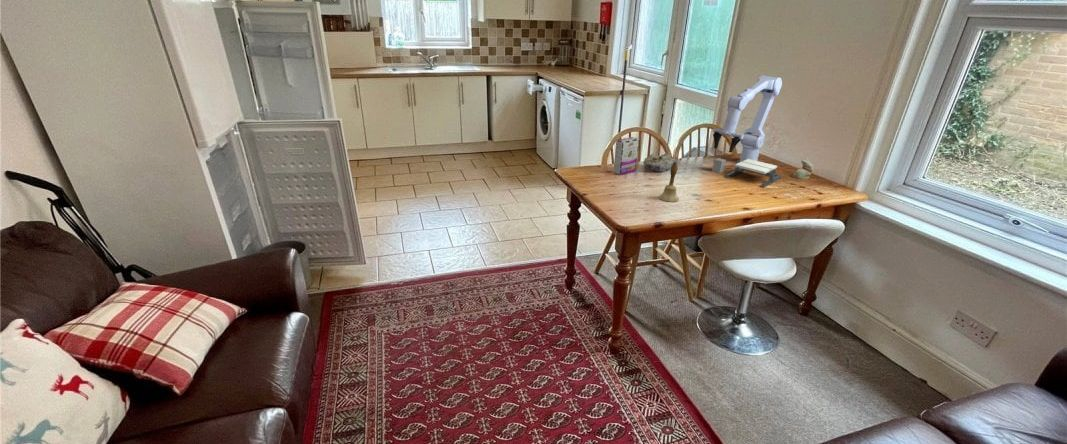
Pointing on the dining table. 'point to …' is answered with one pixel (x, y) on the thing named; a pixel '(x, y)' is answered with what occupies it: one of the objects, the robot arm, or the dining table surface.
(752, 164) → the trapdoor
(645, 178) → the dining table surface
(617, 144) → the candy bar box
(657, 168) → the geode
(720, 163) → the gray rectangular block
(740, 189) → the dining table surface
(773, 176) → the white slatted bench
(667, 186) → the hand bell
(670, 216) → the dining table surface
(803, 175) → the open clam shell
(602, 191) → the dining table surface
